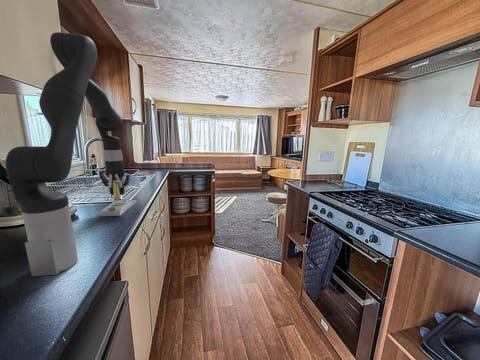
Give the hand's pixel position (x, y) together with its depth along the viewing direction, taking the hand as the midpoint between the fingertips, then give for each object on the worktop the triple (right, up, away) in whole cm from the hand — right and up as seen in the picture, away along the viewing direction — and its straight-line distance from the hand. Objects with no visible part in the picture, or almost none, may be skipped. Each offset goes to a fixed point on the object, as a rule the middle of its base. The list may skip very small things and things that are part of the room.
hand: (117, 194), depth 102 cm
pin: (0, -3, +1) cm, 3 cm away
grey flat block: (0, -7, +2) cm, 7 cm away
